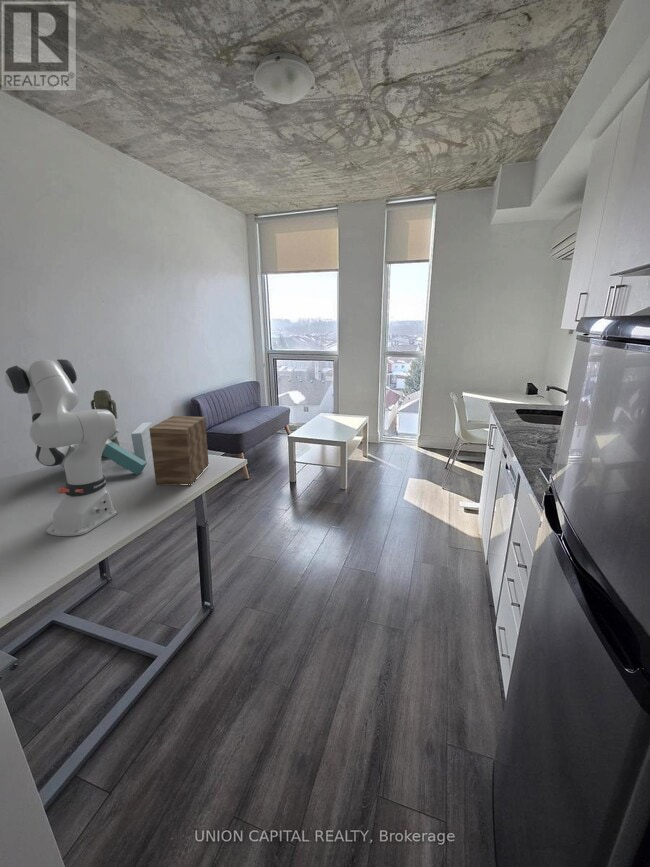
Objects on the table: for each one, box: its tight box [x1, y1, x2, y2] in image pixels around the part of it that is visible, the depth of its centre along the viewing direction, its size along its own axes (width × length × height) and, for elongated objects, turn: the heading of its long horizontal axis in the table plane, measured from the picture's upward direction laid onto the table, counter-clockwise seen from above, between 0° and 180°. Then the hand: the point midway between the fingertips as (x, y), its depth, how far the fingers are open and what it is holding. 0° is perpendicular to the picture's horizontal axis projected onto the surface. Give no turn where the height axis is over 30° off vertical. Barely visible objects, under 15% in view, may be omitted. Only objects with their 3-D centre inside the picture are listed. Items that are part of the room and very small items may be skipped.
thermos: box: [90, 389, 121, 459], centre depth 189 cm, size 9×12×35 cm
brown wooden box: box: [149, 415, 210, 485], centre depth 168 cm, size 22×16×26 cm
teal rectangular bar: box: [101, 439, 148, 476], centre depth 170 cm, size 4×24×6 cm
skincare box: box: [130, 421, 154, 462], centre depth 193 cm, size 21×6×16 cm, turn 10°
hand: (111, 433), depth 167 cm, fingers open, 8 cm apart
